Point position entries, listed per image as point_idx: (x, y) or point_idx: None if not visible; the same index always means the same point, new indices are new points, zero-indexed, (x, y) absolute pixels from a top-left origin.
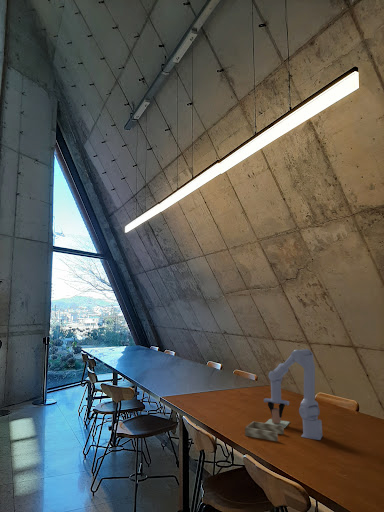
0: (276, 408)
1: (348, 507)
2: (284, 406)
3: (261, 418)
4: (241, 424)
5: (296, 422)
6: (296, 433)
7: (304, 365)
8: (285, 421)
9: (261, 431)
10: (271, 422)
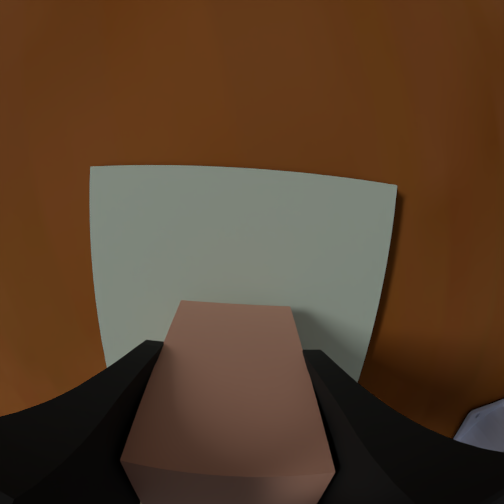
0: (215, 480)
1: None
2: (484, 455)
3: (11, 163)
4: (2, 406)
5: (448, 133)
6: None
7: None
8: (340, 203)
9: None
10: (163, 336)
